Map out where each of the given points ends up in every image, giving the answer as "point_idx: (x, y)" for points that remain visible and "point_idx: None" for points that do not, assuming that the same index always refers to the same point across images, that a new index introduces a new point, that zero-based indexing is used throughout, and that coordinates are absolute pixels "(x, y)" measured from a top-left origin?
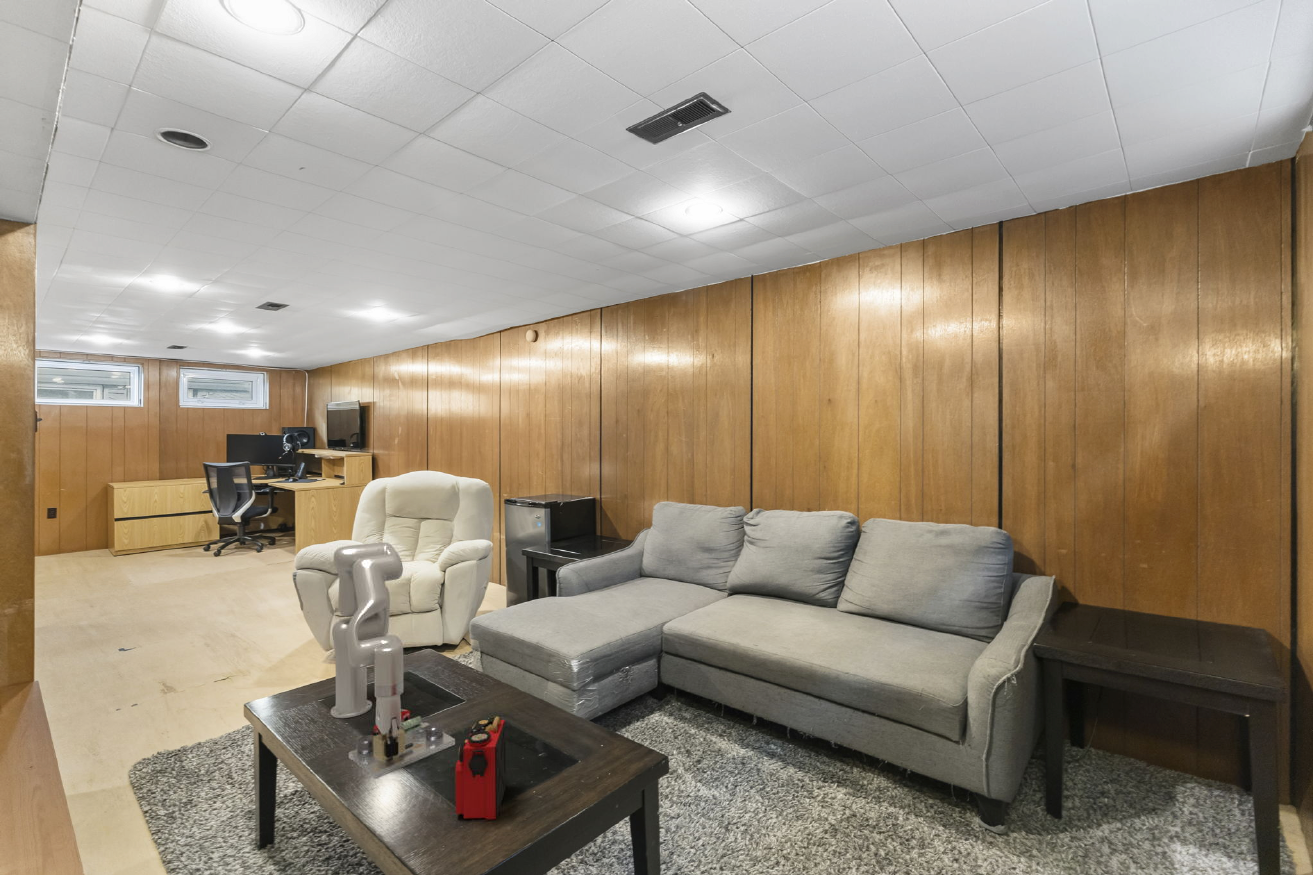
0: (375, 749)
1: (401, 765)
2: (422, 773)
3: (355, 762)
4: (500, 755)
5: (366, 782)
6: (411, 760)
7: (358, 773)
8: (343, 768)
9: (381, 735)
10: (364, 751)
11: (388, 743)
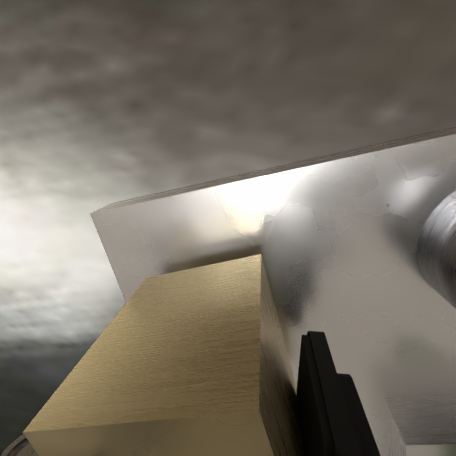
0: (219, 297)
1: None
2: (58, 374)
3: (409, 138)
4: None
5: (91, 149)
6: None
7: (233, 127)
8: (391, 36)
9: None
10: (441, 219)
11: (17, 444)
